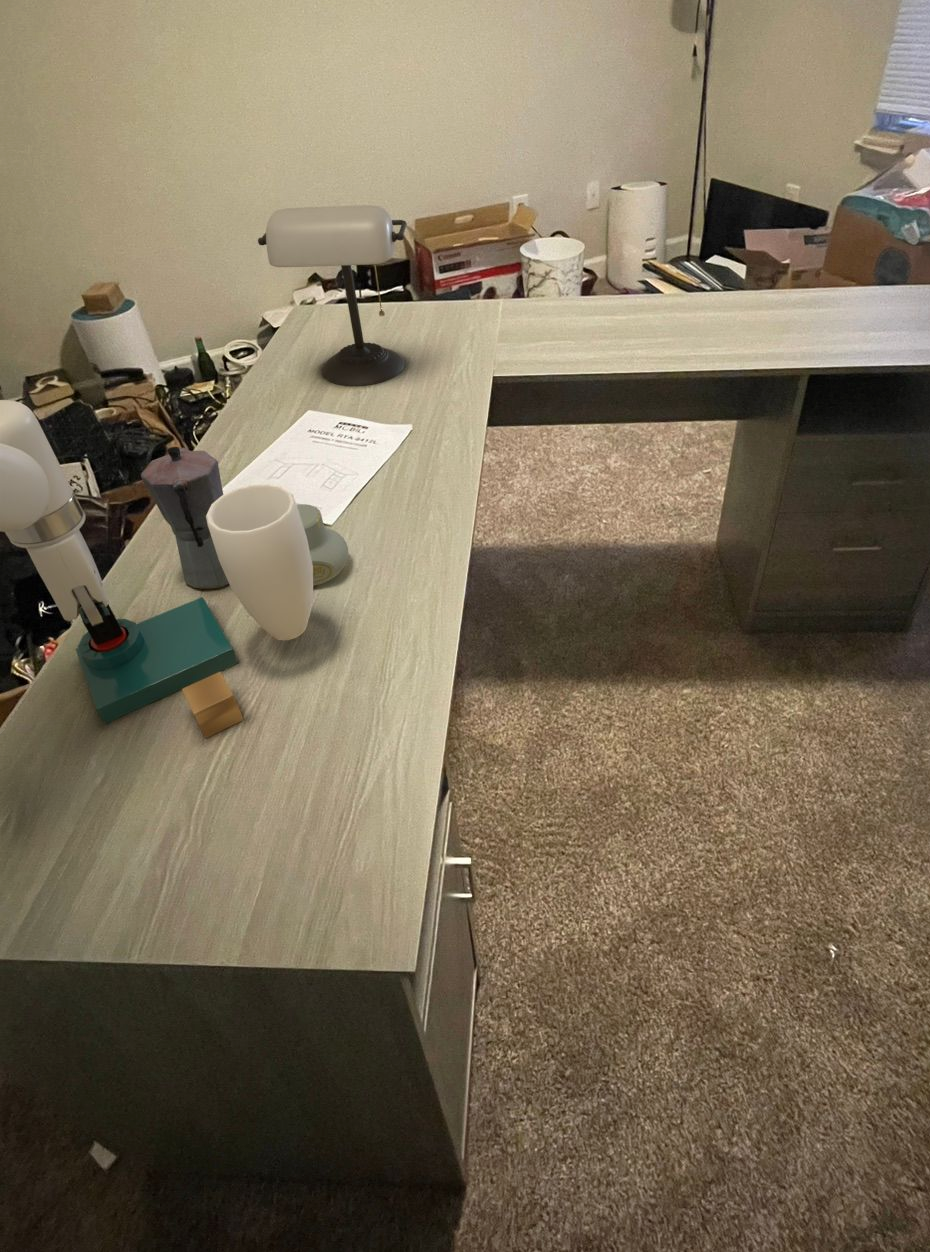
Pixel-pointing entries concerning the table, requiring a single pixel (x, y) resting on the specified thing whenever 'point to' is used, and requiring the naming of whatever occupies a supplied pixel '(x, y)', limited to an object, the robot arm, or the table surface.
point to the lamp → (342, 243)
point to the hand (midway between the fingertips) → (108, 636)
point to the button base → (155, 659)
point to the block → (213, 704)
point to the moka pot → (189, 510)
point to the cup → (265, 556)
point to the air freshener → (323, 545)
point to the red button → (110, 643)
